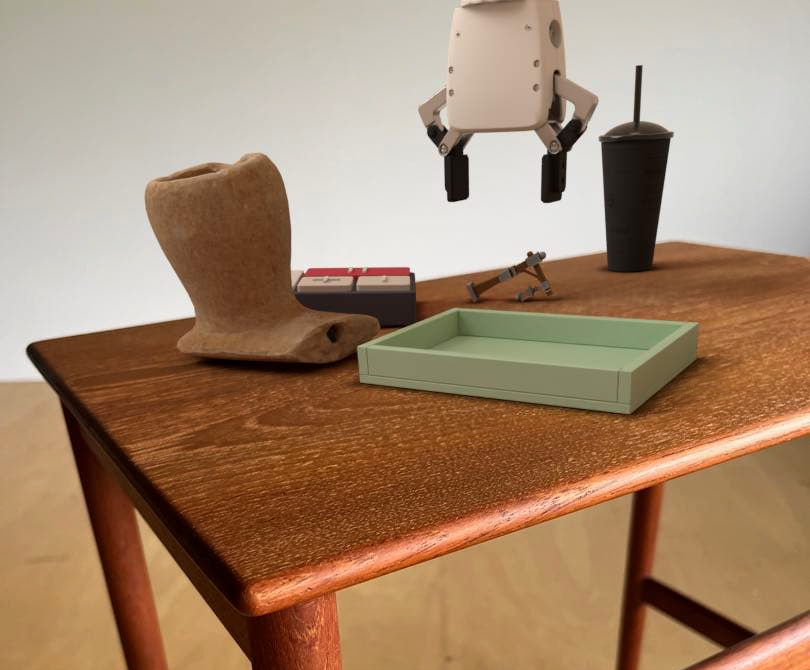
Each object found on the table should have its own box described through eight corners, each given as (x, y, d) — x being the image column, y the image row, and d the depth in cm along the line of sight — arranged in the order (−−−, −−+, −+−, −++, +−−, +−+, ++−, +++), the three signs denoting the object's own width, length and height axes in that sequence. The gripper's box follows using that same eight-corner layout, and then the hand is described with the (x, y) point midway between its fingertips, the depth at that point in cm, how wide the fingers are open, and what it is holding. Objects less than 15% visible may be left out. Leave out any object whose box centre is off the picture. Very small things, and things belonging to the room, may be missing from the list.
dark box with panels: (416, 282, 76) (242, 284, 76) (416, 332, 78) (247, 334, 78) (415, 263, 86) (261, 265, 86) (415, 308, 88) (265, 309, 88)
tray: (696, 359, 62) (699, 322, 61) (629, 414, 52) (632, 371, 51) (455, 339, 72) (454, 307, 71) (359, 382, 62) (356, 346, 61)
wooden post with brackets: (560, 291, 83) (540, 246, 82) (484, 326, 86) (464, 283, 85) (562, 288, 85) (543, 243, 83) (488, 322, 88) (468, 280, 87)
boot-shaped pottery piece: (141, 371, 69) (101, 163, 62) (242, 337, 78) (216, 152, 71) (293, 389, 61) (266, 155, 55) (385, 349, 70) (371, 144, 64)
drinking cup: (628, 260, 103) (637, 67, 94) (679, 266, 97) (694, 61, 88) (580, 269, 99) (585, 69, 91) (630, 276, 93) (640, 63, 85)
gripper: (618, -23, 73) (606, 198, 80) (439, -1, 82) (443, 196, 89) (583, -31, 67) (574, 206, 75) (395, -7, 76) (403, 204, 84)
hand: (503, 201), depth 82 cm, fingers open, 9 cm apart
